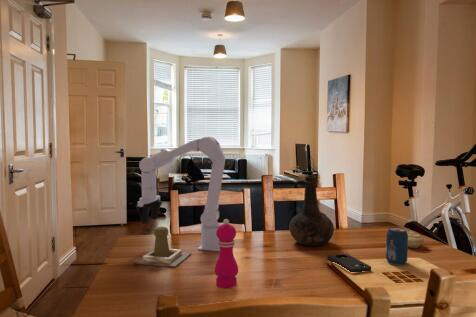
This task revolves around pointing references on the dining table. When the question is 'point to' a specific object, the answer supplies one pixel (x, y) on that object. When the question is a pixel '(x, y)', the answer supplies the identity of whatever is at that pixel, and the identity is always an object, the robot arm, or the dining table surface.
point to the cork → (161, 242)
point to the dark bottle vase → (311, 219)
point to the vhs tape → (349, 262)
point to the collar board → (163, 259)
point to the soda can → (396, 246)
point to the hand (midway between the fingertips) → (149, 221)
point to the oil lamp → (414, 239)
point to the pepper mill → (226, 256)
